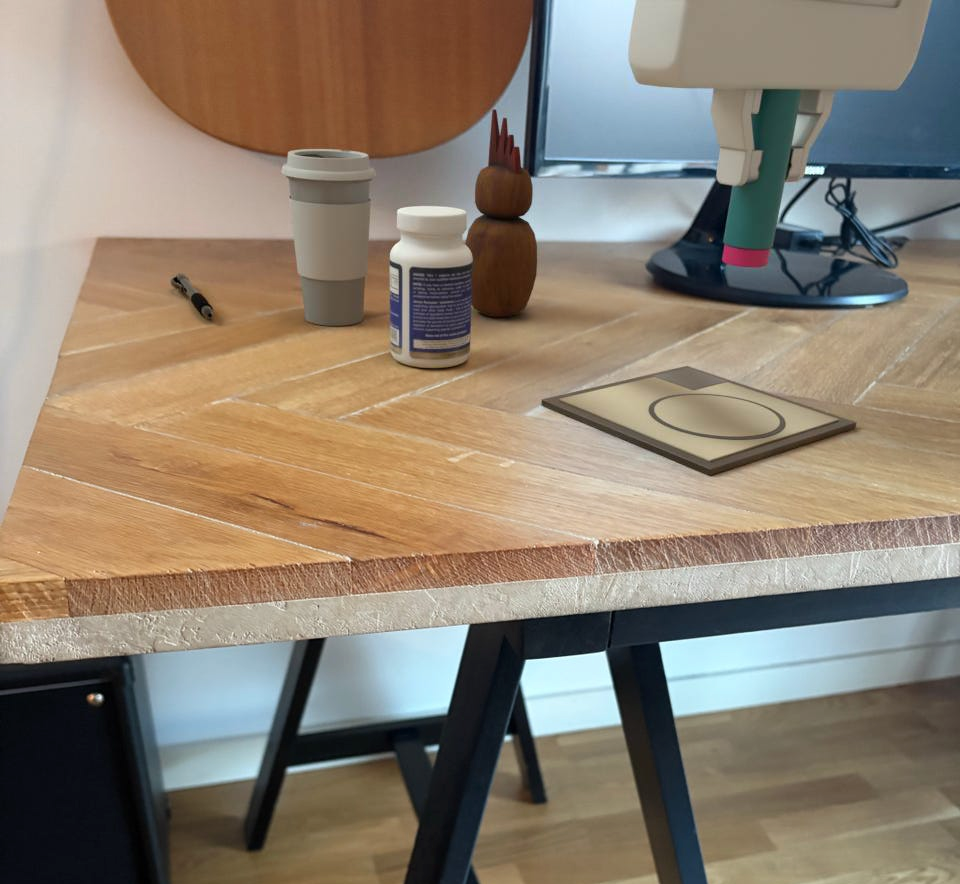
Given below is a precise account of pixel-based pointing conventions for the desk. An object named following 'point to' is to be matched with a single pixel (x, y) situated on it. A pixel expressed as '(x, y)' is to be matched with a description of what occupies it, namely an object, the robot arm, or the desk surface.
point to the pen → (193, 295)
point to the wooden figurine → (502, 230)
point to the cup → (330, 231)
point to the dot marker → (762, 182)
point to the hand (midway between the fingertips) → (759, 182)
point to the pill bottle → (430, 288)
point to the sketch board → (699, 418)
